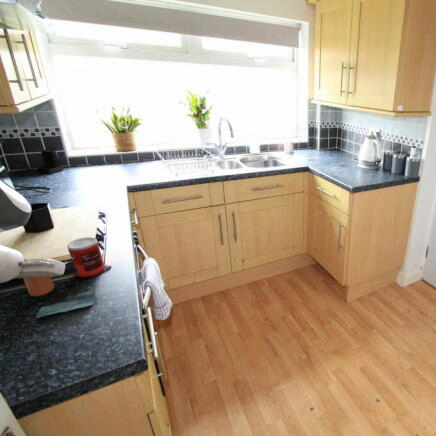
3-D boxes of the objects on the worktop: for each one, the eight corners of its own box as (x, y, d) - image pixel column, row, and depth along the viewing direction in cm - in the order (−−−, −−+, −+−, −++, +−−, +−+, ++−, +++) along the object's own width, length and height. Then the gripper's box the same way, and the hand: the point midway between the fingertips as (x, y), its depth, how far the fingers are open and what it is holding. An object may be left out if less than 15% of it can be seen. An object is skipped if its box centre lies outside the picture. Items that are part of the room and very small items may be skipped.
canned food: (85, 265, 110) (76, 237, 105) (110, 264, 110) (101, 236, 106) (71, 278, 103) (60, 248, 98) (97, 277, 103) (88, 248, 99)
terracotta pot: (24, 296, 91) (13, 270, 87) (37, 285, 96) (27, 259, 92) (46, 295, 92) (36, 269, 88) (58, 283, 97) (49, 258, 93)
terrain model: (36, 324, 84) (34, 318, 83) (42, 308, 90) (40, 302, 89) (95, 308, 90) (94, 302, 89) (96, 294, 96) (95, 289, 95)
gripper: (48, 250, 82) (79, 262, 95) (-45, 253, 79) (0, 266, 92) (43, 274, 80) (75, 283, 93) (-53, 279, 77) (-6, 288, 90)
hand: (37, 275), depth 92 cm, fingers closed on terracotta pot, 5 cm apart
